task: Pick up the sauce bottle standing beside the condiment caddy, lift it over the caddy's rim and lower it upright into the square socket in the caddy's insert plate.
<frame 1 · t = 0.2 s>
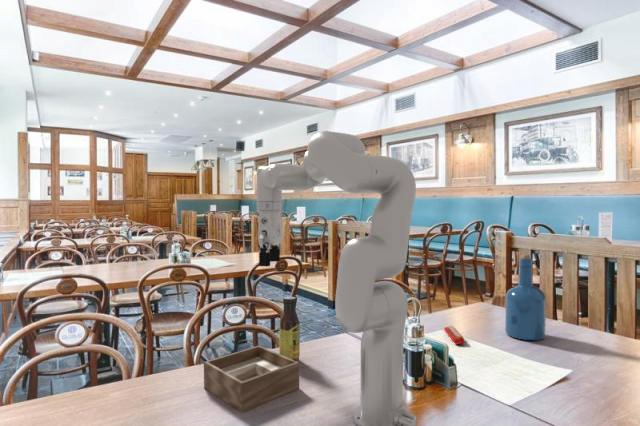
hand: (269, 263, 127), 31 cm above the table, fingers open, 9 cm apart
wine bottle: (525, 336, 152), on the table
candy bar: (454, 339, 150), on the table
caddy: (251, 388, 111), on the table
sauce bottle: (289, 362, 129), on the table
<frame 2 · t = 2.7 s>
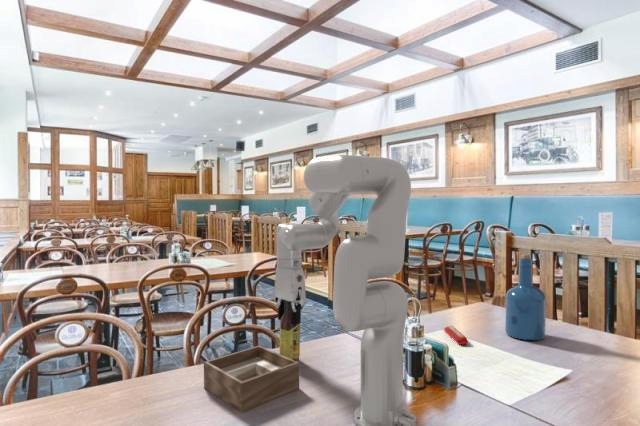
hand: (289, 320, 129), 13 cm above the table, fingers closed on sauce bottle, 5 cm apart
sauce bottle: (289, 361, 129), on the table, touching gripper
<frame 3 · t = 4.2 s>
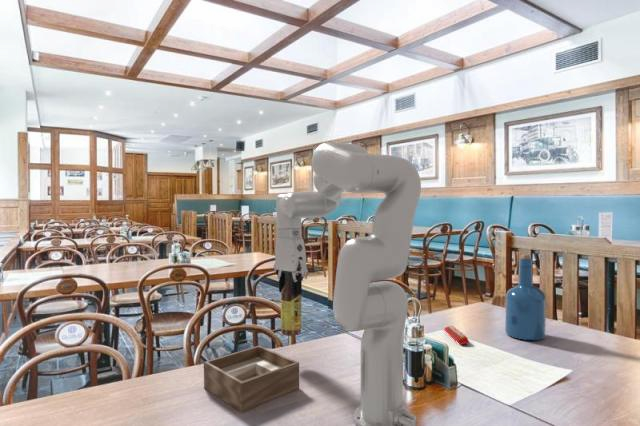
hand: (290, 292, 128), 22 cm above the table, fingers closed on sauce bottle, 5 cm apart
sauce bottle: (291, 334, 128), point 9 cm above the table, touching gripper
everything else where it was.
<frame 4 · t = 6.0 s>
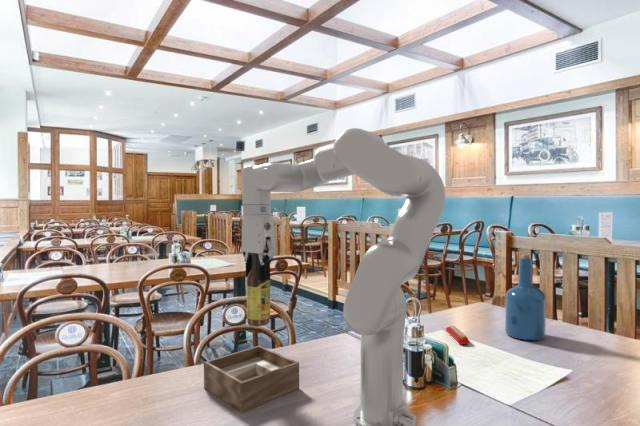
hand: (257, 277, 113), 29 cm above the table, fingers closed on sauce bottle, 5 cm apart
sauce bottle: (258, 324, 113), point 16 cm above the table, touching gripper
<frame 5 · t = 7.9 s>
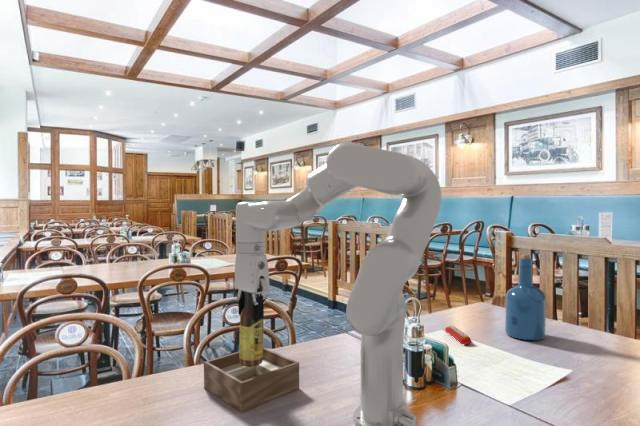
hand: (250, 315, 110), 19 cm above the table, fingers closed on sauce bottle, 5 cm apart
sauce bottle: (251, 363, 110), point 7 cm above the table, touching gripper
when the fingers open (15 cm above the table, at t = 9.2 s): sauce bottle drops 1 cm, resting on caddy.
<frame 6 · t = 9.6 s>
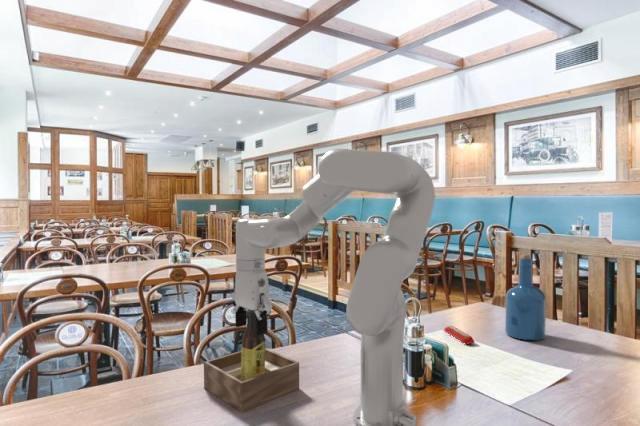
hand: (251, 329, 110), 16 cm above the table, fingers open, 9 cm apart
sauce bottle: (252, 385, 110), point 1 cm above the table, touching caddy
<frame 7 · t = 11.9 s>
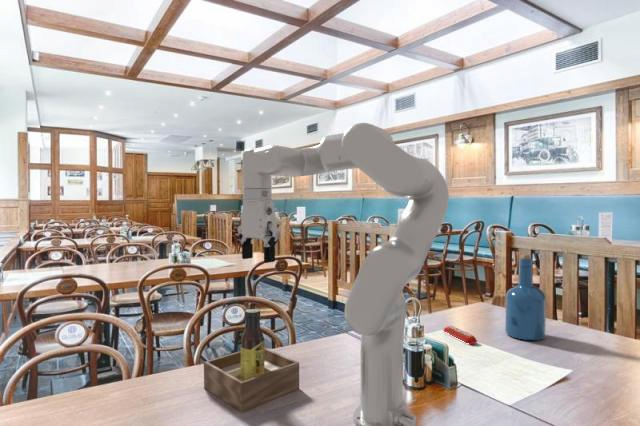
hand: (258, 260, 111), 34 cm above the table, fingers open, 9 cm apart
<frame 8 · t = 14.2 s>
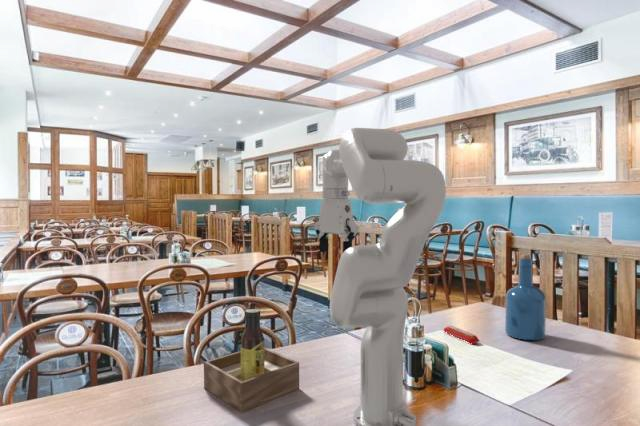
hand: (335, 253, 123), 34 cm above the table, fingers open, 9 cm apart
at the end: sauce bottle 0.5 cm off-centre on the caddy, point 0.8 cm above the caddy's base; sauce bottle tilted 0°; the gripper is holding nothing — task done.
